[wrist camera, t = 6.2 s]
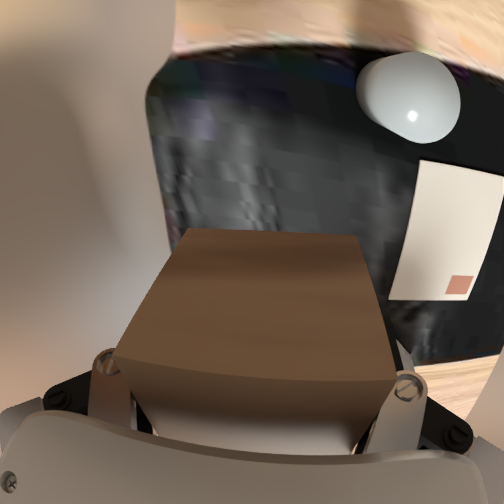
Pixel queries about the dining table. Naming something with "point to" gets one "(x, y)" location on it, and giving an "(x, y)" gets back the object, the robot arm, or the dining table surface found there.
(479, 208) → the letter
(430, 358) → the dining table surface
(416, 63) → the grey rounded cylinder
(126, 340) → the walnut block
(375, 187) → the dining table surface
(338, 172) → the dining table surface
